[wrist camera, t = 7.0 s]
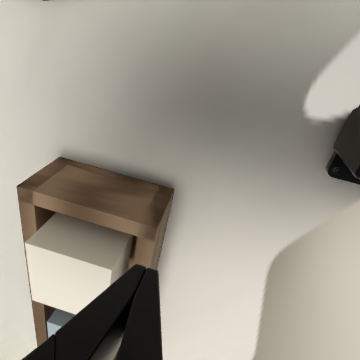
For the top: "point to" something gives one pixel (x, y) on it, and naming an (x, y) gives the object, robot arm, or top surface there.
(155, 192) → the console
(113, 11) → the top surface
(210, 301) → the top surface
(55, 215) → the cream block
